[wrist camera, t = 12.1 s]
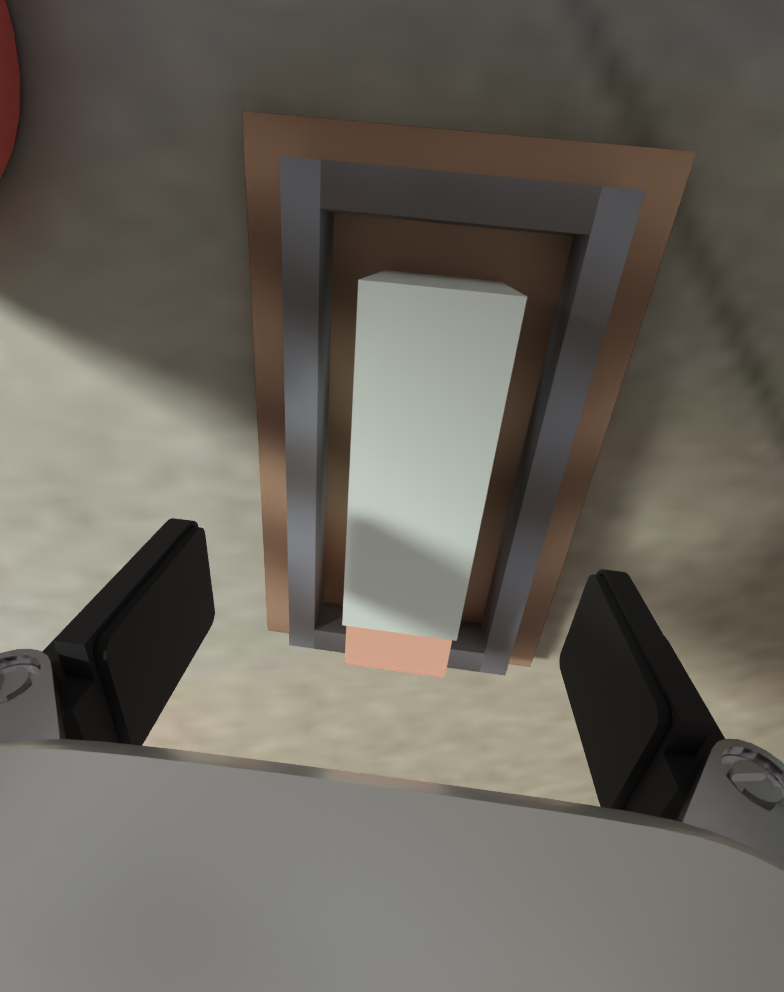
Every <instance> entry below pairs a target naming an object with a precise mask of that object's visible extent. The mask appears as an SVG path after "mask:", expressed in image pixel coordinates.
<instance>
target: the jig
mask: <svg viewBox="0 0 784 992" xmlns="http://www.w3.org/2000/svg"><path fill="white" fill-rule="evenodd" d="M242 118H243V138H244V158H245V179H246V199H247V219H248V239H249V260H250V280H251V300H252V321H253V341H254V361H255V382H256V402H257V422H258V442H259V463H260V483H261V503H262V524H263V544H264V564H265V584H266V605H267V625H268V630H269V631H276V632H283V633H289V642H290V645H292V646H300V647H307V648H314V649H321V650H328V651H335V652H342V653H345V643H346V626H344V625H342V620H343V598H344V577H345V555H346V534H347V513H348V491H349V470H350V448H351V427H352V405H353V384H354V362H355V341H356V320H357V298H358V280H359V279H362V278H365V277H367V276H370V275H373V274H376V273H378V272H381V271H384V270H393V271H403V272H413V273H424V274H434V275H444V276H454V277H464V278H474V279H484V280H494V281H501V282H503V283H504V284H506V285H508V286H510V287H511V288H513V289H515V290H516V291H518V292H520V293H522V294H523V295H525V296H527V301H526V306H525V310H524V315H523V320H522V325H521V330H520V335H519V340H518V345H517V349H516V354H515V359H514V364H513V369H512V374H511V379H510V384H509V388H508V393H507V398H506V403H505V408H504V413H503V418H502V423H501V427H500V432H499V437H498V442H497V447H496V452H495V457H494V462H493V466H492V471H491V476H490V481H489V486H488V491H487V496H486V501H485V505H484V510H483V515H482V520H481V525H480V530H479V535H478V540H477V544H476V549H475V554H474V559H473V564H472V569H471V574H470V579H469V583H468V588H467V593H466V598H465V603H464V608H463V613H462V618H461V622H460V627H459V632H458V637H457V641H455V640H452V644H451V649H450V654H449V659H448V664H447V667H449V668H456V669H463V670H470V671H477V672H484V673H491V674H498V675H505V674H506V671H507V667H508V664H512V665H519V666H527V667H530V666H531V663H532V660H533V657H534V654H535V651H536V648H537V645H538V641H539V638H540V635H541V632H542V629H543V626H544V623H545V620H546V617H547V614H548V610H549V607H550V604H551V601H552V598H553V595H554V592H555V589H556V586H557V583H558V579H559V576H560V573H561V570H562V567H563V564H564V561H565V558H566V555H567V552H568V549H569V545H570V542H571V539H572V536H573V533H574V530H575V527H576V524H577V521H578V518H579V514H580V511H581V508H582V505H583V502H584V499H585V496H586V493H587V490H588V487H589V483H590V480H591V477H592V474H593V471H594V468H595V465H596V462H597V459H598V456H599V453H600V449H601V446H602V443H603V440H604V437H605V434H606V431H607V428H608V425H609V422H610V418H611V415H612V412H613V409H614V406H615V403H616V400H617V397H618V394H619V391H620V387H621V384H622V381H623V378H624V375H625V372H626V369H627V366H628V363H629V360H630V357H631V353H632V350H633V347H634V344H635V341H636V338H637V335H638V332H639V329H640V326H641V322H642V319H643V316H644V313H645V310H646V307H647V304H648V301H649V298H650V295H651V291H652V288H653V285H654V282H655V279H656V276H657V273H658V270H659V267H660V264H661V261H662V257H663V254H664V251H665V248H666V245H667V242H668V239H669V236H670V233H671V230H672V226H673V223H674V220H675V217H676V214H677V211H678V208H679V205H680V202H681V199H682V195H683V192H684V189H685V186H686V183H687V180H688V177H689V174H690V171H691V168H692V165H693V161H694V158H695V155H696V152H694V151H682V150H671V149H660V148H649V147H638V146H627V145H615V144H604V143H593V142H582V141H571V140H560V139H548V138H537V137H526V136H515V135H504V134H493V133H481V132H470V131H459V130H448V129H437V128H425V127H414V126H403V125H392V124H381V123H370V122H358V121H347V120H336V119H325V118H314V117H303V116H291V115H280V114H269V113H258V112H247V111H242Z"/></svg>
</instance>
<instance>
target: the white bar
mask: <svg viewBox="0 0 784 992" xmlns="http://www.w3.org/2000/svg"><path fill="white" fill-rule="evenodd" d="M526 301H527V296H525V295H523V294H522V293H520V292H518V291H516V290H515V289H513V288H511V287H510V286H508V285H506V284H504V283H503V282H501V281H494V280H484V279H474V278H464V277H454V276H444V275H434V274H424V273H413V272H403V271H393V270H384V271H381V272H378V273H376V274H373V275H370V276H367V277H365V278H362V279H359V280H358V298H357V320H356V341H355V362H354V384H353V405H352V427H351V448H350V470H349V491H348V513H347V534H346V555H345V577H344V598H343V620H342V625H344V626H346V643H345V662H344V664H349V665H356V666H363V667H370V668H377V669H385V670H392V671H399V672H406V673H413V674H420V675H428V676H435V677H442V678H445V674H446V669H447V664H448V659H449V654H450V649H451V644H452V640H455V641H457V637H458V632H459V627H460V622H461V618H462V613H463V608H464V603H465V598H466V593H467V588H468V583H469V579H470V574H471V569H472V564H473V559H474V554H475V549H476V544H477V540H478V535H479V530H480V525H481V520H482V515H483V510H484V505H485V501H486V496H487V491H488V486H489V481H490V476H491V471H492V466H493V462H494V457H495V452H496V447H497V442H498V437H499V432H500V427H501V423H502V418H503V413H504V408H505V403H506V398H507V393H508V388H509V384H510V379H511V374H512V369H513V364H514V359H515V354H516V349H517V345H518V340H519V335H520V330H521V325H522V320H523V315H524V310H525V306H526Z"/></svg>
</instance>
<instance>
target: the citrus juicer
mask: <svg viewBox="0 0 784 992" xmlns="http://www.w3.org/2000/svg"><path fill="white" fill-rule="evenodd" d="M19 117H20V71H19V64H18V57H17V50H16V43H15V36H14V29H13V26H12V22H11V19H10V15H9V12H8V8H7V5H6V1H5V0H0V179H1V177H2V175H3V172H4V170H5V168H6V165H7V163H8V161H9V159H10V156H11V154H12V152H13V149H14V143H15V138H16V133H17V128H18V122H19Z"/></svg>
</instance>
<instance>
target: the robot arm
mask: <svg viewBox="0 0 784 992" xmlns="http://www.w3.org/2000/svg"><path fill="white" fill-rule="evenodd" d="M214 615H215V608H214V600H213V592H212V585H211V577H210V569H209V561H208V553H207V545H206V537H205V531H204V529H203V528H199V527H198V524H197V522H195V521H190V520H182V519H173V518H172V519H169V520H168V521H167V522H166V523H165V524H164V525H163V526H162V527H161V528H160V529H159V530H158V531H157V532H156V533H155V534H154V535H153V536H152V537H151V539H150V540H149V541H148V542H147V543H146V544H145V545H144V546H143V547H142V548H141V549H140V550H139V551H138V552H137V553H136V554H135V555H134V556H133V557H132V558H131V559H130V561H129V562H128V563H127V564H126V565H125V566H124V567H123V568H122V569H121V570H120V571H119V572H118V573H117V574H116V575H115V576H114V577H113V578H112V579H111V580H110V581H109V582H108V583H107V584H106V586H105V587H104V588H103V589H102V590H101V591H100V592H99V593H98V594H97V595H96V596H95V597H94V598H93V599H92V600H91V601H90V602H89V603H88V604H87V605H86V606H85V608H84V609H83V610H82V611H81V612H80V613H79V614H78V615H77V616H76V617H75V618H74V619H73V620H72V621H71V622H70V623H69V624H68V625H67V626H66V627H65V628H64V630H63V631H62V632H61V633H60V634H59V635H58V636H57V637H56V638H55V639H54V640H53V641H52V642H51V643H50V644H49V645H48V646H47V647H46V648H45V649H44V651H43V652H41V651H38V650H33V649H16V650H12V651H8V652H4V653H0V992H784V764H783V763H782V762H781V761H780V760H779V759H777V758H776V757H774V756H773V755H772V754H770V753H769V752H767V751H766V750H764V749H762V748H760V747H758V746H756V745H754V744H752V743H749V742H745V741H742V740H739V739H725V738H724V736H723V734H722V733H721V731H720V729H719V727H718V726H717V724H716V722H715V721H714V719H713V717H712V715H711V714H710V712H709V710H708V708H707V707H706V705H705V703H704V702H703V700H702V698H701V696H700V695H699V693H698V691H697V690H696V688H695V686H694V684H693V683H692V681H691V679H690V678H689V676H688V674H687V672H686V671H685V669H684V667H683V666H682V664H681V662H680V660H679V659H678V657H677V655H676V654H675V652H674V650H673V648H672V647H671V645H670V643H669V642H668V640H667V639H666V637H665V636H664V635H663V633H662V632H661V630H660V628H659V626H658V625H657V623H656V621H655V619H654V618H653V616H652V614H651V613H650V611H649V609H648V607H647V606H646V604H645V602H644V600H643V599H642V597H641V595H640V594H639V592H638V590H637V588H636V587H635V585H634V583H633V582H632V580H631V578H630V576H629V575H628V574H627V573H625V572H620V571H611V570H603V569H601V570H599V571H598V572H597V574H596V575H593V574H592V575H590V576H589V578H588V580H587V583H586V586H585V588H584V591H583V594H582V597H581V599H580V602H579V605H578V608H577V610H576V613H575V616H574V618H573V621H572V624H571V627H570V629H569V632H568V635H567V637H566V640H565V643H564V646H563V648H562V651H561V654H560V670H561V673H562V677H563V680H564V684H565V687H566V691H567V694H568V697H569V701H570V704H571V708H572V711H573V714H574V718H575V721H576V725H577V728H578V732H579V735H580V738H581V742H582V745H583V749H584V752H585V755H586V759H587V762H588V766H589V769H590V773H591V776H592V779H593V783H594V786H595V790H596V793H597V796H598V800H599V803H600V806H601V807H598V806H592V805H585V804H579V803H572V802H566V801H560V800H553V799H546V798H538V797H531V796H524V795H517V794H509V793H502V792H495V791H488V790H481V789H473V788H466V787H459V786H452V785H444V784H437V783H430V782H422V781H415V780H407V779H400V778H392V777H385V776H377V775H370V774H362V773H355V772H347V771H340V770H332V769H324V768H317V767H309V766H302V765H294V764H286V763H278V762H271V761H263V760H255V759H247V758H239V757H231V756H223V755H215V754H208V753H200V752H192V751H184V750H176V749H167V748H158V747H148V746H142V744H143V743H144V741H145V740H146V738H147V736H148V734H149V733H150V731H151V729H152V727H153V726H154V724H155V722H156V721H157V719H158V717H159V715H160V714H161V712H162V710H163V709H164V707H165V705H166V703H167V702H168V700H169V698H170V696H171V695H172V693H173V691H174V690H175V688H176V686H177V684H178V683H179V681H180V679H181V677H182V676H183V674H184V672H185V671H186V669H187V667H188V665H189V664H190V662H191V660H192V658H193V657H194V655H195V653H196V652H197V650H198V648H199V646H200V645H201V643H202V641H203V639H204V638H205V636H206V634H207V633H208V631H209V629H210V627H211V625H212V623H213V620H214Z"/></svg>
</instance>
